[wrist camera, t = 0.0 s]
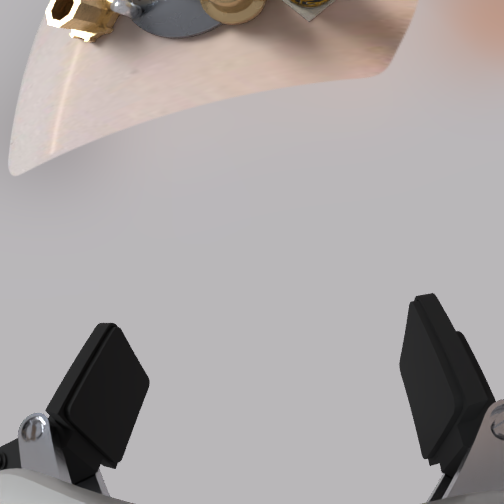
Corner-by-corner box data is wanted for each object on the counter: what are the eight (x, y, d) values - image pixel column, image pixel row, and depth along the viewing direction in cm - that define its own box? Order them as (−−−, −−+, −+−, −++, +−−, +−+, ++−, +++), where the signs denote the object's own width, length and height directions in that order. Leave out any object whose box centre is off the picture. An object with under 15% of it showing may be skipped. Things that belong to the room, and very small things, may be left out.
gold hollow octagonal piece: (90, -13, 26) (56, -25, 19) (131, -3, 27) (100, -18, 20) (66, 34, 30) (30, 31, 23) (104, 47, 31) (70, 43, 24)
